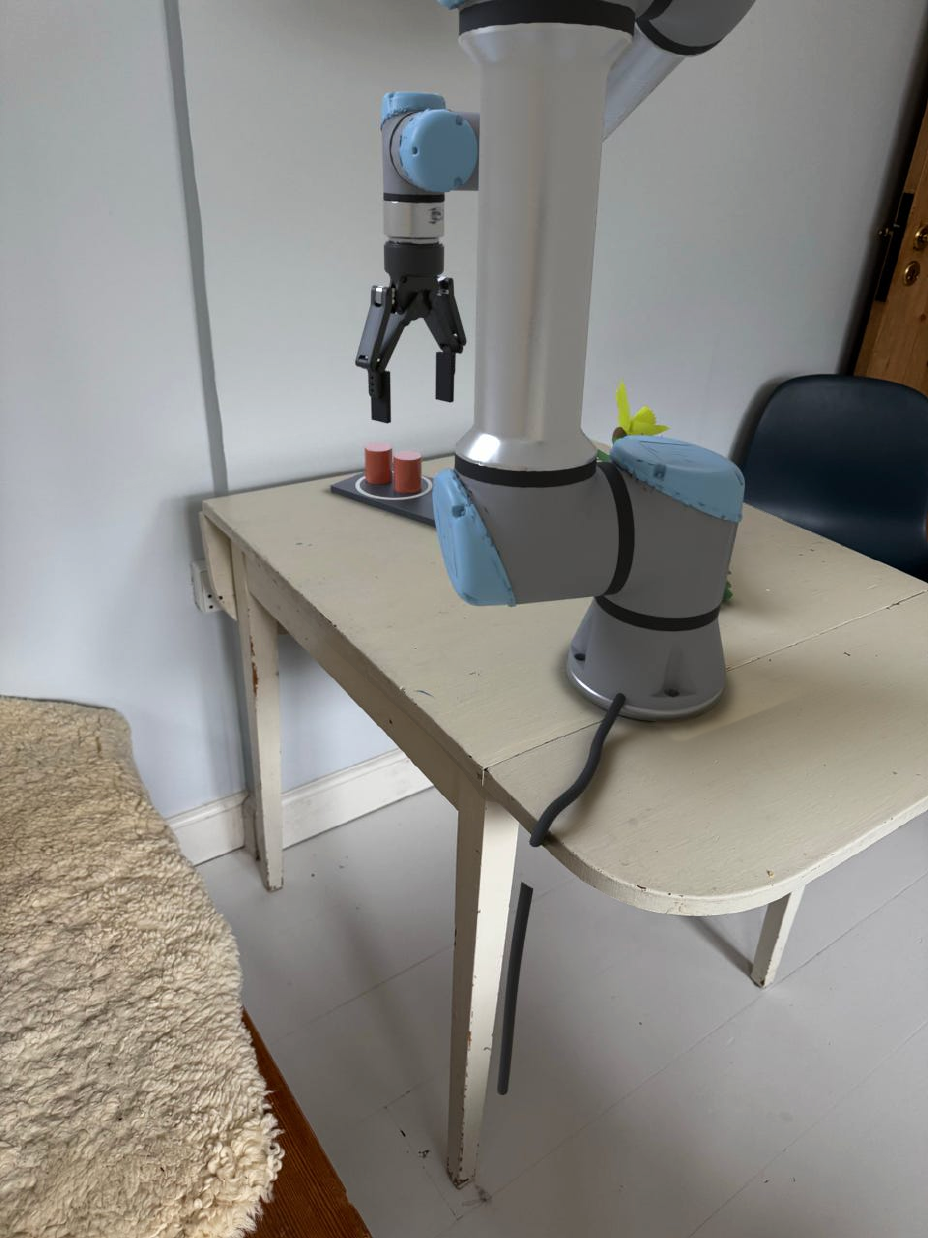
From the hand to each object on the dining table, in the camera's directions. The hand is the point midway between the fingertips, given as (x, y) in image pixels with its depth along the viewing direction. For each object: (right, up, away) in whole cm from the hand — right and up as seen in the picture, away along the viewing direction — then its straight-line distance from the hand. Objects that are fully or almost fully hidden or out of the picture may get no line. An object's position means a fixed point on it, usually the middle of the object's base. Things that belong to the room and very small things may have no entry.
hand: (414, 410), depth 114 cm
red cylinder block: (-1, -10, +7) cm, 12 cm away
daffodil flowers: (+30, -20, -7) cm, 37 cm away
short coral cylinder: (-6, -8, +10) cm, 14 cm away
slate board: (+1, -11, +6) cm, 13 cm away
